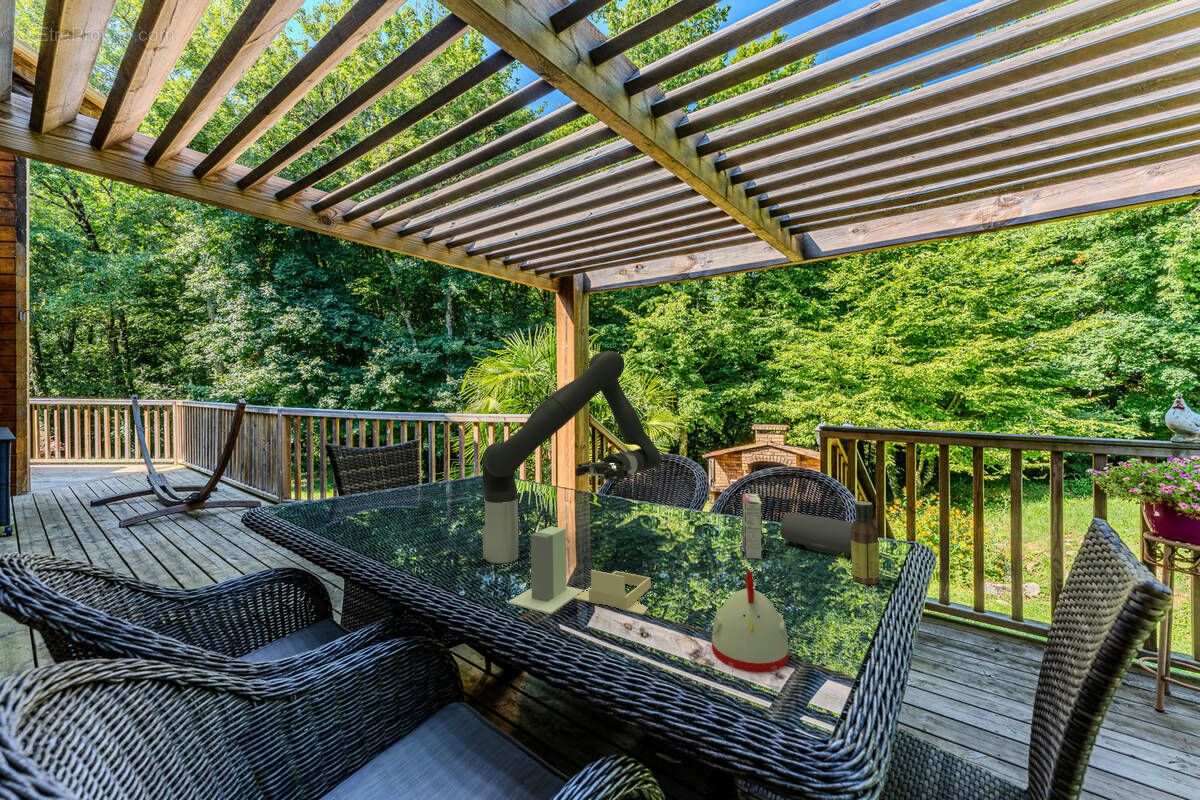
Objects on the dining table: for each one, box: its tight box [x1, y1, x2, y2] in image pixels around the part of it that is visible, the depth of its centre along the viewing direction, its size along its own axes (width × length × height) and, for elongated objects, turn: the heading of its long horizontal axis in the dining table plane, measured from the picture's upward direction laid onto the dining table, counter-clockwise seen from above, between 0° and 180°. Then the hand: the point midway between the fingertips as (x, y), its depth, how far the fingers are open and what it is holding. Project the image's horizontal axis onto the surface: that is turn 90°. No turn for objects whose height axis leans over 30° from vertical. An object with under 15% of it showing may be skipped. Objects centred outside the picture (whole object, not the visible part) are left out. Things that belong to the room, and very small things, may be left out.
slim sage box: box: [530, 525, 568, 602], centre depth 125 cm, size 4×8×15 cm, turn 150°
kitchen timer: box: [711, 571, 789, 673], centre depth 99 cm, size 14×14×15 cm
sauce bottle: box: [850, 500, 881, 585], centre depth 132 cm, size 6×6×20 cm
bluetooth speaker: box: [779, 512, 854, 556], centre depth 156 cm, size 23×9×10 cm, turn 47°
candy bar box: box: [741, 492, 763, 560], centre depth 154 cm, size 11×5×16 cm, turn 168°
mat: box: [507, 585, 585, 615], centre depth 125 cm, size 12×14×1 cm
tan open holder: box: [573, 569, 652, 616], centre depth 127 cm, size 18×17×8 cm
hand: (590, 473), depth 137 cm, fingers open, 8 cm apart
